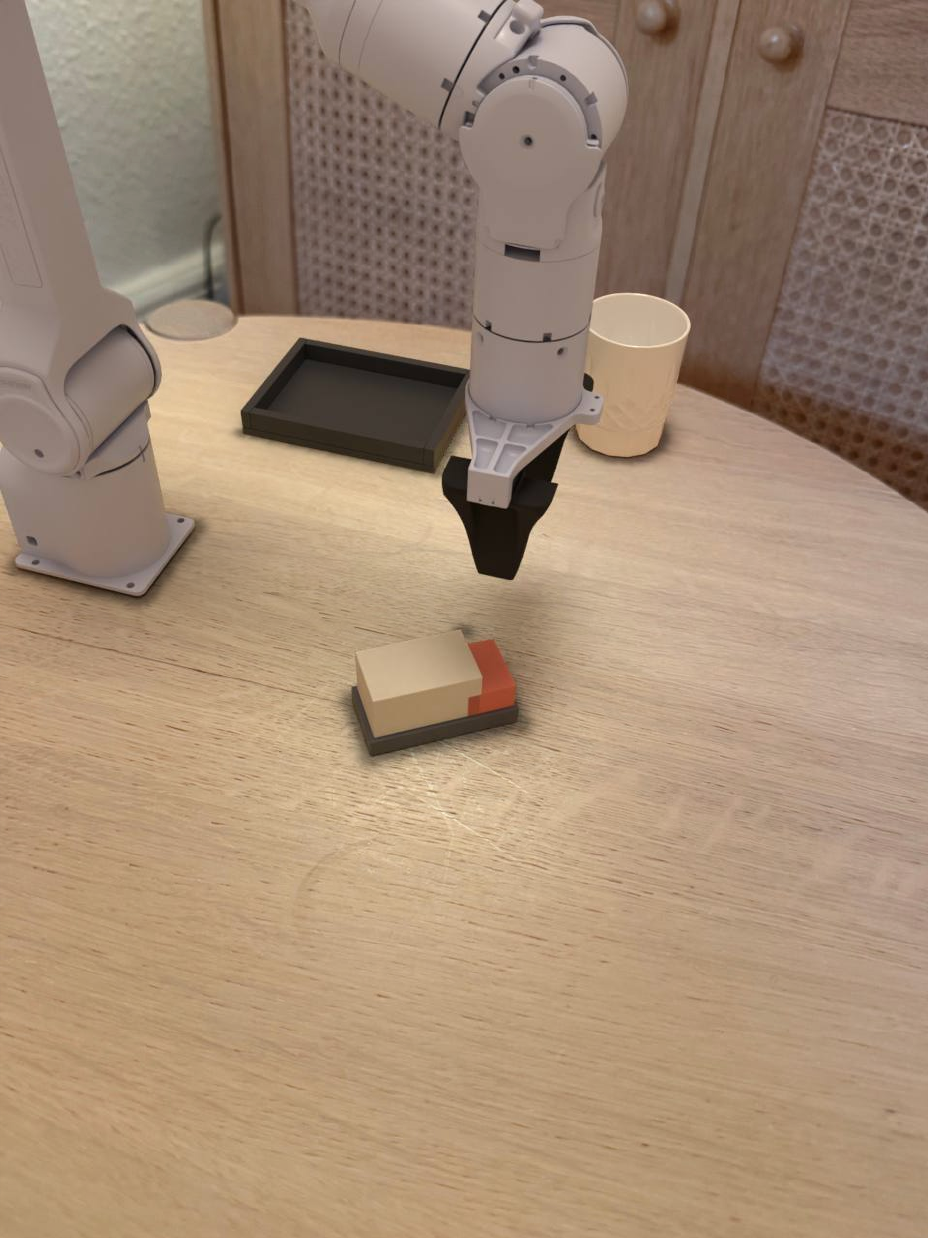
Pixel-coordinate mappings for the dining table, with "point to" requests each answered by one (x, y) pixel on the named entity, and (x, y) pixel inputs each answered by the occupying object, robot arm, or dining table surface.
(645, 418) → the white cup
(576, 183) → the robot arm
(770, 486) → the dining table surface
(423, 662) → the blocks on dark base
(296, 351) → the black rectangular tray
